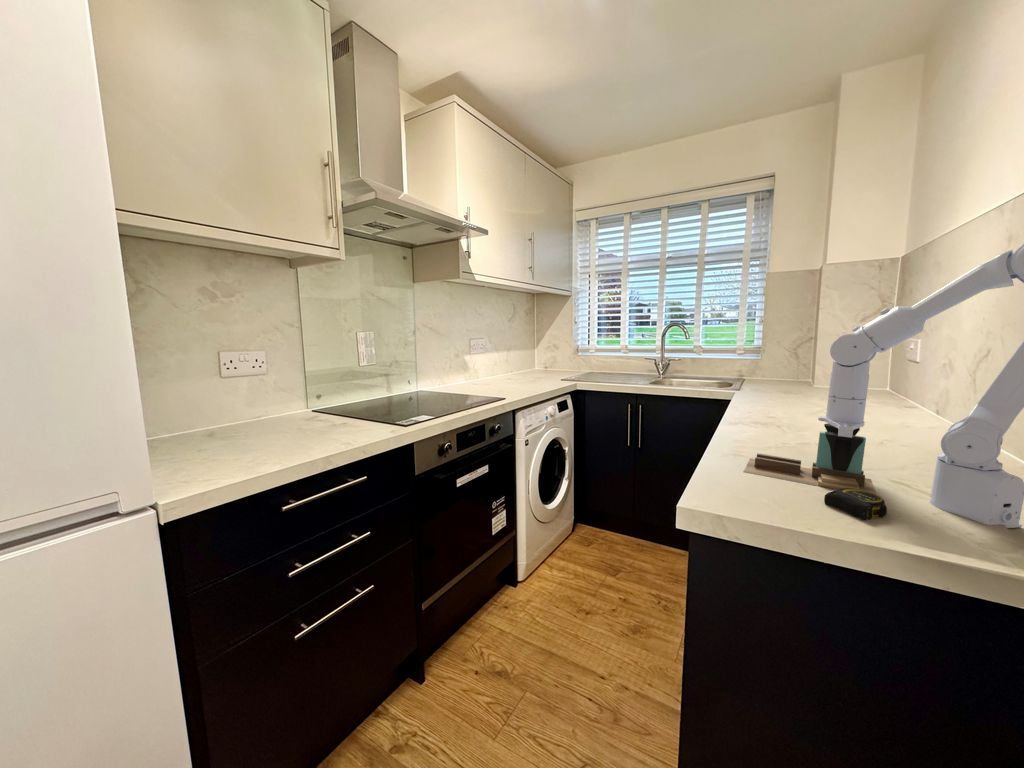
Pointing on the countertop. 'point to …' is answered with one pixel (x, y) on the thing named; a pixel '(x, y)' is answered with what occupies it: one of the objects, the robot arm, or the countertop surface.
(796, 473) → the walnut rack
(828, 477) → the upper oak offcut
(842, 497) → the tape measure
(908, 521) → the countertop surface
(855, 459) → the teal sheet
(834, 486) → the lower oak offcut
